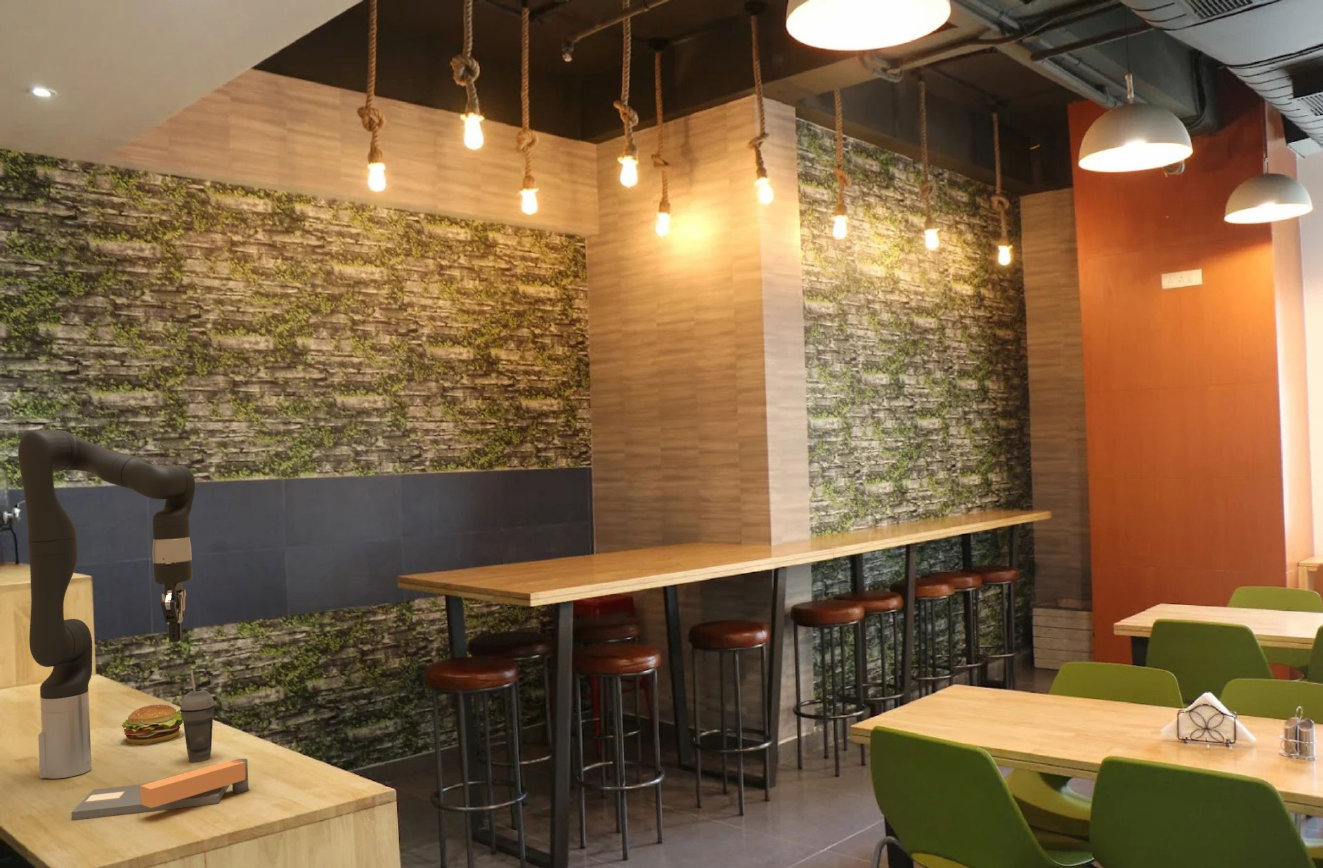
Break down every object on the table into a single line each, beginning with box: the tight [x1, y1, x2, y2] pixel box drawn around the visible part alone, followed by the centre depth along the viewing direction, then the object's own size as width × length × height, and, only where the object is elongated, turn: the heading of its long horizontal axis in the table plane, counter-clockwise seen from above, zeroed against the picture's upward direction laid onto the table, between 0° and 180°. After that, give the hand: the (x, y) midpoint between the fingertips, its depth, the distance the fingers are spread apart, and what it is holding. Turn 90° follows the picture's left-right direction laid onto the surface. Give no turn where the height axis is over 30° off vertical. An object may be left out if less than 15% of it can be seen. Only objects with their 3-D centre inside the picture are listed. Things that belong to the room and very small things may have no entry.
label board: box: [70, 777, 250, 821], centre depth 209 cm, size 30×14×2 cm, turn 103°
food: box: [121, 704, 183, 745], centre depth 257 cm, size 14×14×8 cm
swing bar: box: [140, 758, 249, 808], centre depth 205 cm, size 20×4×4 cm, turn 142°
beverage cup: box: [179, 669, 216, 763], centre depth 237 cm, size 7×7×20 cm
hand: (175, 641), depth 223 cm, fingers closed
